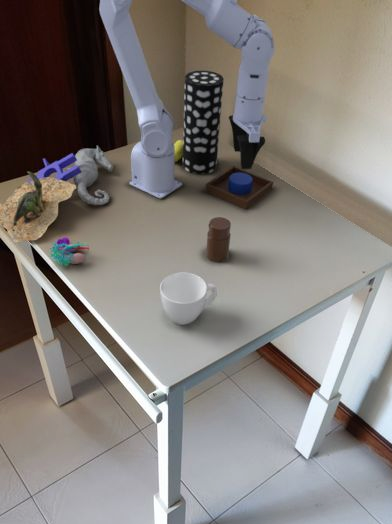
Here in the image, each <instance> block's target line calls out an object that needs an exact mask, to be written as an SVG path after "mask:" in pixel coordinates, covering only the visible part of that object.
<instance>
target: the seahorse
mask: <svg viewBox="0 0 392 524" xmlns="http://www.w3.org/2000/svg"><path fill="white" fill-rule="evenodd" d="M74 156H75V157H76V159H77V161H75V162H74V166H75V165H77V166H78V167H79V168H80V169H81V173H79V174H78V175H76V176H74V177H72V178H71V179H73V183H74V184H75V186H76V189H77V190H76V191H77V192H78V196H79V197H80V198H81V200H82V201H83V202H85V203H86V204H88V205H93V206H103V205H105V204H108V203H109V201H110V196H109V193H108V192H106V191H105V190H102V189H100V188H99V189H97V190H96V191H94V195H95V196H92V195H91V194H90V193H88V192H89V191H88V190H87V188H88V187H91V186H93V184H94V183H95V182H96V181H97V180H98V177H99V170H98V165H99V166H101V167H102V168H103V169H105V170H107V171H108V172H109V173H111V172H112V171H113V166H114V165H113V164H111V163H110V161H109V160H108V158H107V156H106V154H105V153H104V151H103V150H101V148H100V146H99V145H96V148H87V147H86V148H81V149H79V150H78V151H77V153H75V155H74ZM70 168H71V167H69V166H67V167H65V170H64V172H65V171H67V170H68V169H70Z"/></svg>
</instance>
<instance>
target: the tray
mask: <svg viewBox="0 0 392 524" xmlns="http://www.w3.org/2000/svg"><path fill="white" fill-rule="evenodd" d="M234 173H246V174H248V175H250V176H251V177H252V188H251V191H250V192H249V193H248V194H245V195H238V194H234V193H232V192H230V191H229V188H228V184H229V177H230V175H232V174H234ZM273 187H274V181H273V180H270V179H268V178H265V177H263V176H259V175H258V174H255V173H253V172H250V171H248V170H247V169H242V168H240V167H238V166H235V165H232V166H231V167H229V168H228V169H226V170H224V171H223V172H222V173H220V174H219V175H217V176H216V177H214V178H213V179H211V180H210V181H208V182H207V183H205V193H208V194H209V195H212V196H214V197H216V198H219V199H221V200H224V201H226V202H228V203H230V204H233V205H235V206H237V207H238V208H241V209H244V210H248V209H249V208H250V207H251V206H253V205H254V204H255V203H257V202H258V201H259V200H260V199H262V198H263V197H264V196H265V195H267V194H268V193H269V192H271V191H272V190H273V189H274V188H273Z"/></svg>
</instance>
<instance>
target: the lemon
mask: <svg viewBox="0 0 392 524" xmlns="http://www.w3.org/2000/svg"><path fill="white" fill-rule="evenodd" d="M173 144H174V146H175V158H174V163H176V162H179V161H180V160H181V159H182V160H183V139H178V140H176V141H175V142H174V143H173Z"/></svg>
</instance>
